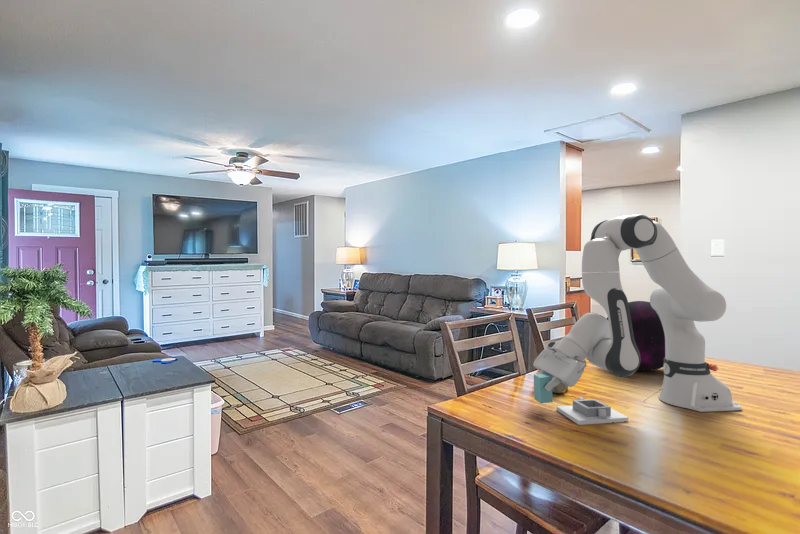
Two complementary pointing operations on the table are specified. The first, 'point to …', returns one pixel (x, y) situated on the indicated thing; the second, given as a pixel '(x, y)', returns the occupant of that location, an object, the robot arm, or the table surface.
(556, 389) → the ceramic mug
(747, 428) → the table surface
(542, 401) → the block
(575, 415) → the housing plate
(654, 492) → the table surface
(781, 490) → the table surface
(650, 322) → the black purple ball
